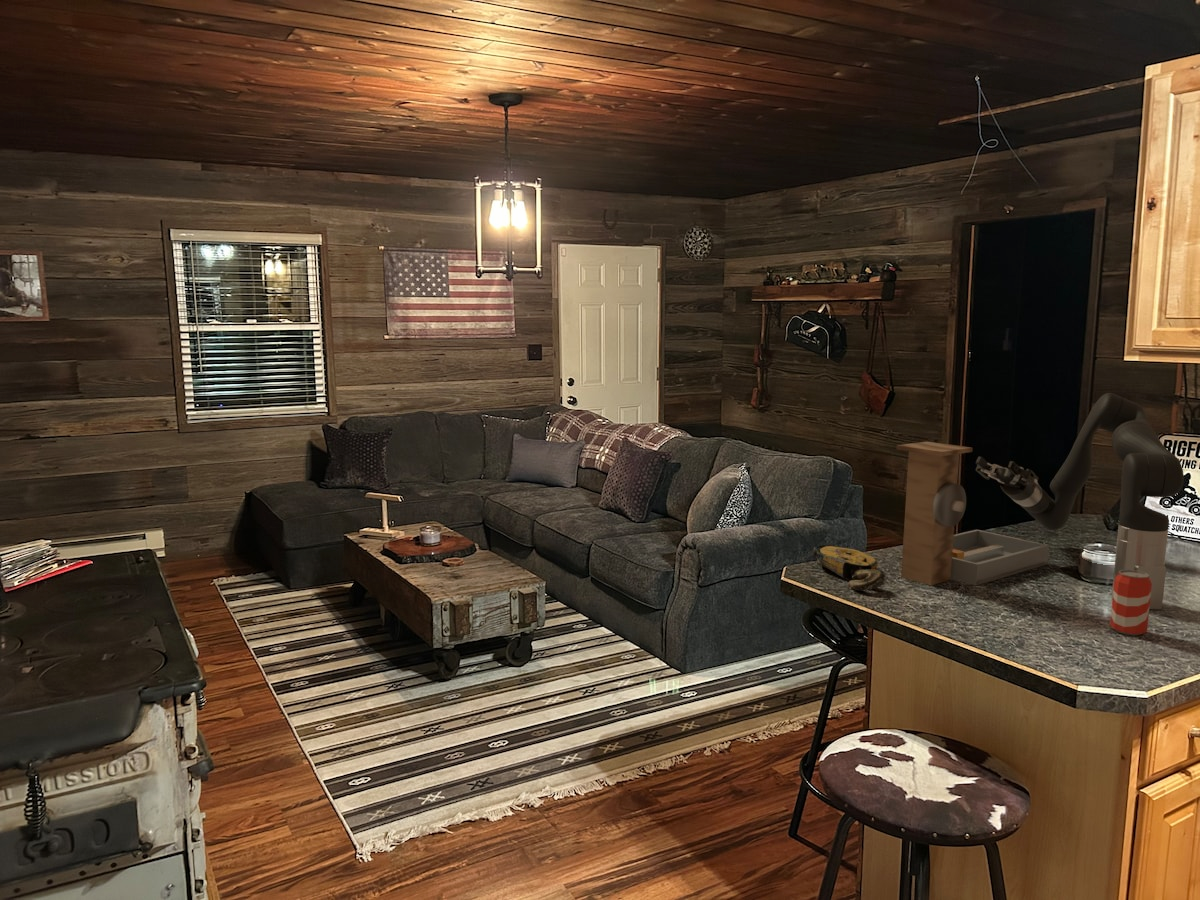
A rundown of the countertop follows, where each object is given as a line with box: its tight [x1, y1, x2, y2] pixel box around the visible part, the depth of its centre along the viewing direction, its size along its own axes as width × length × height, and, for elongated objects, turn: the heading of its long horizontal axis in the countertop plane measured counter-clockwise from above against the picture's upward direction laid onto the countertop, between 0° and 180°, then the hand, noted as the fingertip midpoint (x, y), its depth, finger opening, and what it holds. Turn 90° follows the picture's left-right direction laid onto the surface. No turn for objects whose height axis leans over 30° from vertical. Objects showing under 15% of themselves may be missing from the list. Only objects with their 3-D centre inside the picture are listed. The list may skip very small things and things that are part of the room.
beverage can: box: [1109, 570, 1152, 636], centre depth 175 cm, size 6×6×12 cm
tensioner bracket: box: [896, 441, 974, 586], centre depth 208 cm, size 12×14×32 cm
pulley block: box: [812, 544, 884, 591], centre depth 212 cm, size 14×6×30 cm
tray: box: [951, 529, 1050, 586], centre depth 223 cm, size 32×20×5 cm, turn 125°
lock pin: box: [952, 545, 1005, 563], centre depth 223 cm, size 22×4×4 cm, turn 124°
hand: (994, 462), depth 222 cm, fingers open, 8 cm apart
